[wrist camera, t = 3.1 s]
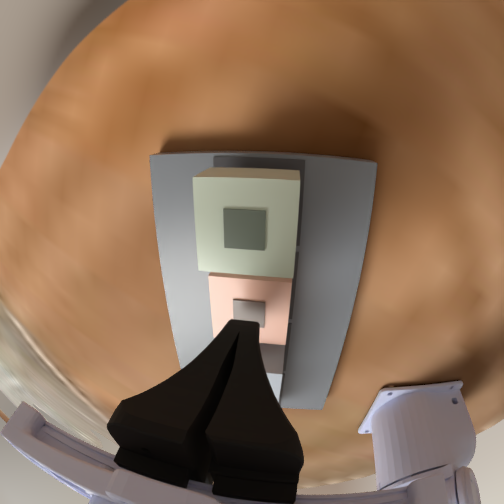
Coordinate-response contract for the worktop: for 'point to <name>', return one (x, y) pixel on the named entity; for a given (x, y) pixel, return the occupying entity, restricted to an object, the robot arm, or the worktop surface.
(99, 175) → the worktop surface
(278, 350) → the key
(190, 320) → the keypad board
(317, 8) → the worktop surface
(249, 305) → the key
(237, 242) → the key
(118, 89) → the worktop surface
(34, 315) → the worktop surface
